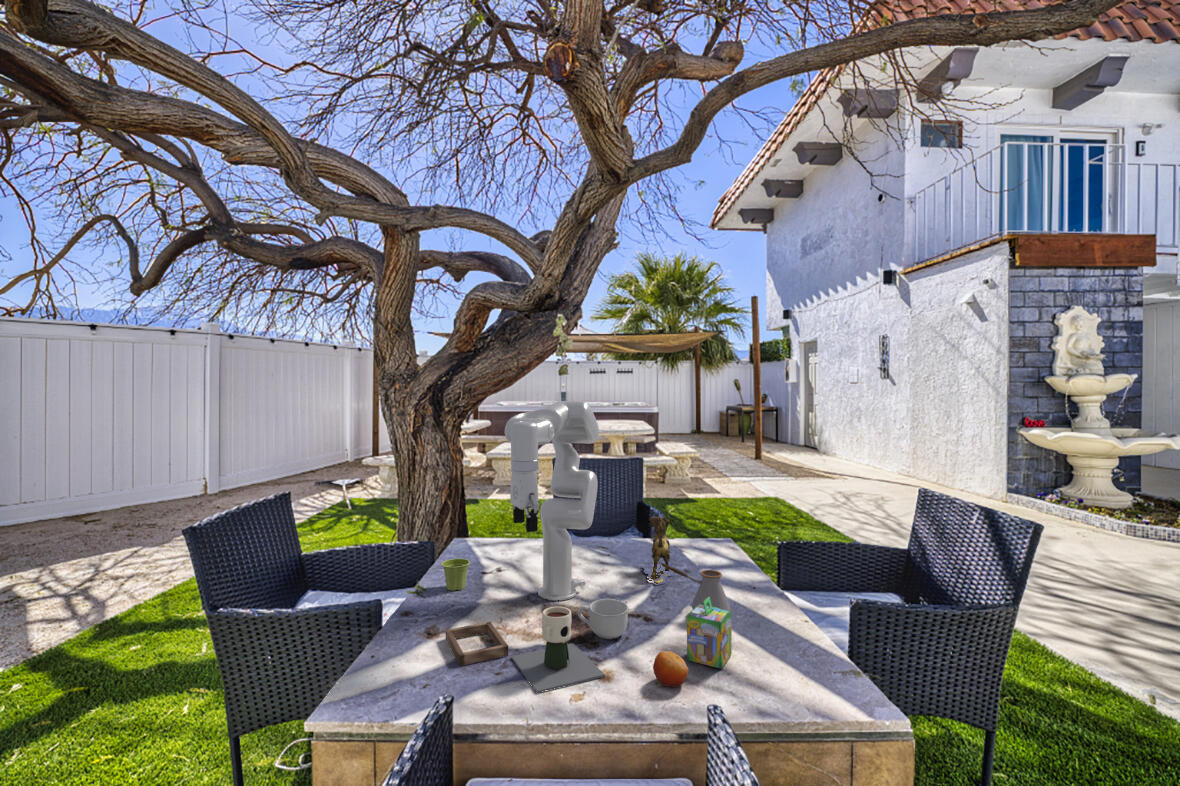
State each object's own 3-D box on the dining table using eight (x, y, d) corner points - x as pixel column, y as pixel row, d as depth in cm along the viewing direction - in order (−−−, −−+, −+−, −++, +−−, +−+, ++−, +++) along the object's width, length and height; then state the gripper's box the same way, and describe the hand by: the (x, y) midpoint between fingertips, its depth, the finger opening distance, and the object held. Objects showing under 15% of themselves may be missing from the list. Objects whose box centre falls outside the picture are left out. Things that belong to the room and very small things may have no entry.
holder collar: (490, 630, 157) (490, 621, 157) (508, 655, 143) (508, 645, 143) (445, 638, 152) (445, 629, 152) (459, 666, 137) (459, 655, 137)
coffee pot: (729, 610, 173) (729, 561, 173) (731, 625, 162) (731, 573, 162) (660, 604, 177) (660, 557, 177) (657, 619, 166) (657, 568, 166)
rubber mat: (573, 645, 149) (573, 643, 149) (604, 676, 132) (604, 674, 132) (511, 658, 141) (511, 656, 141) (536, 693, 125) (536, 691, 125)
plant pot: (435, 590, 188) (435, 564, 188) (452, 581, 197) (452, 557, 197) (459, 594, 185) (459, 568, 185) (475, 585, 193) (475, 560, 193)
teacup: (632, 629, 159) (632, 601, 159) (621, 646, 148) (622, 615, 148) (586, 622, 163) (586, 595, 163) (572, 638, 153) (572, 608, 153)
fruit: (642, 669, 133) (659, 640, 134) (670, 685, 134) (687, 656, 134) (648, 687, 125) (667, 656, 126) (678, 704, 126) (696, 673, 126)
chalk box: (721, 670, 136) (721, 609, 136) (685, 660, 141) (686, 601, 141) (733, 655, 144) (733, 597, 144) (699, 646, 149) (699, 590, 148)
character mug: (560, 678, 130) (560, 622, 130) (533, 672, 133) (533, 618, 133) (578, 657, 140) (579, 606, 140) (553, 652, 143) (553, 601, 143)
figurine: (675, 564, 218) (675, 512, 218) (674, 586, 193) (675, 528, 193) (642, 562, 220) (642, 511, 220) (637, 584, 195) (637, 526, 195)
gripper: (501, 462, 162) (502, 521, 162) (523, 472, 146) (523, 537, 147) (525, 460, 165) (526, 517, 166) (549, 469, 150) (550, 533, 151)
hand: (525, 526), depth 157 cm, fingers open, 9 cm apart
